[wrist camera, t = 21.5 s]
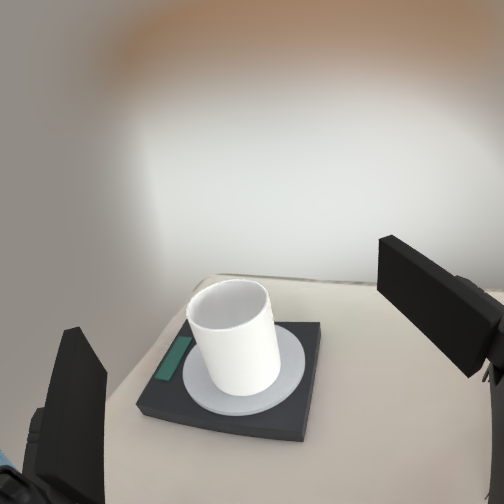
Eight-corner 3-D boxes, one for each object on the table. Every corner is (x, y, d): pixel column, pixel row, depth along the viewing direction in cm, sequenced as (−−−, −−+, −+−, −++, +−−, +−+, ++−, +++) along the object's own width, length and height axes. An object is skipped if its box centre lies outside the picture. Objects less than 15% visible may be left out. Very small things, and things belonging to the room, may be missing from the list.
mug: (194, 346, 41) (169, 282, 36) (249, 322, 43) (234, 257, 39) (227, 410, 31) (200, 343, 26) (295, 377, 33) (285, 306, 29)
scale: (143, 414, 35) (132, 400, 33) (191, 329, 49) (185, 313, 48) (303, 441, 29) (301, 428, 27) (320, 334, 43) (319, 317, 42)
